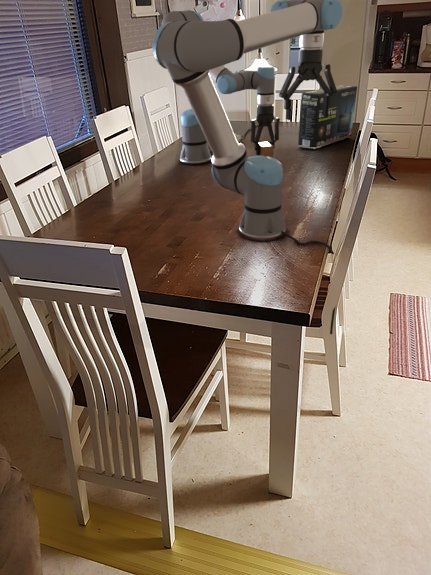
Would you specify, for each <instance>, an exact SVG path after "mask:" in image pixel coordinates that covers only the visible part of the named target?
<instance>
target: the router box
mask: <svg viewBox="0 0 431 575" xmlns="http://www.w3.org/2000/svg"><path fill="white" fill-rule="evenodd" d="M335 86H336V89H337V93H336V94H333V96H331V104H330V106H328V115H327V117H325V116H322V108H323V96H324V95H326V94H325V92H324V91H323V89H322V88H318V89H314V90H309V91H304V92H301V93H300V109H299V110H300V111H299V124H298V137H297V146H298V145H302V146H307V147H317V146H320V145H323V144H325V143H328V142H331V141H333V140H336V139H338V138H341V137H344V136H347V135H351V136H352V133H353V132H352V131H353V125H354V115H355V109H356V99H357V93H358V86H356V85H350V84H339V85H338V84H337V85H335ZM328 88H329V86H328ZM329 89H330V88H329ZM311 151H313V150H312V149H311Z"/></svg>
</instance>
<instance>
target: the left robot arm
mask: <svg viewBox="0 0 431 575" xmlns="http://www.w3.org/2000/svg"><path fill="white" fill-rule="evenodd" d="M174 20H179V21H205V20H204V18H203V16H202V15H201V14H200V13H199V12H198V11H195V10H190V9H188V10H172V11H169V12H167V13H166V14H165V15H164V17H163V18H162V20H161V25H163V24H165V23H167V22H171V21H174ZM209 74H210V77H211V79H212V81H213V82H215V83H216V89H217V91H218V92H219V93H220V94H221V95H232V94H234V93H237V92H241V91H245V90H256V104H257V105H256V117H255V118H254V119H250V125H251V126H250V128H251V130H250V142H251V143H252V144H254V151H255V156H260V144H259V142H260V139H261V135H262V132H263V129H264V128H265V127H267V130H268V134H269V138H270V141H269V143H270V144H272V145H273V146H274V148H273V150H275V149H276V148H275V146H276V142H277V141H279V139H280V121H281V118H279V117H278V116H275V115H274V113H275V105H274V104H275V84H276V83H275V81H276V69H275V67H274V66H273V65H260V66H258V67H257V70H246V69H240V70H236V71H234V72H232V71H231V70H230V69H229V68H228V67H227V66H226V65H222V66H219V67H217V68H214V69H211V70H209ZM225 113H226V115H227V112H226V111H225ZM227 116H228V115H227ZM273 122H274V124H272V123H273ZM256 124H259V125H258V126H256ZM273 125H274V129H273ZM256 127H257V131H256ZM180 128H181V140H182V147H181V151H180V156H179V162H180V163H181V164H183V165H189V166H197V165H205V164H208V163H210V162H212V161H211V159H212V155H211V153H212V154H213V152H212V150H210V149H209V145H208V142H207V140H206V138H205V135H204V133H203V131H202V129H201V127H200V125H199V123H198V120H197V118H196V116H195V114H194V112H193V110H192V108H189V109H185V110H184V111H182V112H181V114H180Z"/></svg>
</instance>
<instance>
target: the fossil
mask: <svg viewBox="0 0 431 575" xmlns="http://www.w3.org/2000/svg"><path fill="white" fill-rule="evenodd" d="M232 130H233V132H234V134H235V137H236V139H237V142H240V143H241V141H243V140H242V138H245V139H246V136H245V135H244V134H243V133H244V132H241V131H235V130H234V129H232Z"/></svg>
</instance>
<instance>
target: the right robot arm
mask: <svg viewBox="0 0 431 575" xmlns="http://www.w3.org/2000/svg"><path fill="white" fill-rule="evenodd" d="M342 18H343V5H342V3H341V1H340V0H277V1H274V3H273V4H272V5H271V7H270V9H269V12H266V13H263V14H259V15H255V16H252V17H249V18H244V19H241V20H235V18H227V19H223V20H204V21H179V20H174V21H171V22H167V23H165V24H163V25H162V24H161V25H160V26H159V27H158V29H156V32H155V33H154V36H153V40H152V48H151V49H152V54H153V57H154V59H155V61H156V63H158V65H159V66H160V67H161V68H163V69H166V70H167V72H168V74H169V75H170V78H171V80H172V82H173V84H174V85H176V86H180V87H181V88H182V90H183V92H184V95H185V96H186V99H187V101H188V103H189V105H190V107H191V108H190V109H192V110H193V112H194V114H195V116H196V118H197V120H198V123H199V125H200V127H201V129H202V131H203V133H204V135H205V138H206V140H207V145H208V147H209V148H210V151H212V152H213V153H212V155H211V161H210V162H211V166H212V167H211V176H212V178H213V180H214V181H215V183H217V184H218V185H219V186H221V187H222V188H223V189H226V190H229V191H232V192H234V193H236V194H238V195H241V196H244V211H243V213H242V216H241V220H240V222H239V225H238V232H239V235H240V236H241V237H242V238H244V239H247V240H250V241H254V242H271V241H277V240H279V239H281V238H283V237H287V238H289V239H290V240H293V241H294V242H295V243H296V244H297V245H298V246H299V245H300V246H306V245H309V244H320V245H324V246H325V247H326V249H328V251H329V252H330V254H331V255H335V252H334V251H333V249H332V248H331V246H330V245H329V244H328V243H326V242H324V241H320V240H312V239H311V240H309V241H308V240H307V241H305V242H301V241H299V240H298V239H296V238H295V237H294V236H292V235H290V234H288V233H287V223H286V221H285V216H284V214H283V210H282V200H283V183H284V172H283V171H284V169H283V164H282V163H281V162H280V161H279V160H278V159H276V158H274V157H273V158H272V157H268V156H267V157H264V156H256V155H252V156H249V153H248V151H247V148H246V145H244V143H242V142H240V143H239V142H237V139H236V137H235V134H234V132H233V130H234V129H233V127H232V125H231V123H230V120H229V117H228V115H226V114H227V112H226V110H225V108H224V105H223V103H222V101H221V99H220V96H219V94H218V90H217V88H216V86H215V83H214V80H213V79H212V78H211V77H210V74H209V70H211V69H214V68H217V67H219V66H222V65H224V66H226V65H228V64H230V63H233V62H237V61H239V60H241V58H242V57H243V56H244V54H248V53H251V52H253V51H257V50H260V49H263V48H266V47H269V46H273V45H275V44H278V43H282V42H285V41H288V40H291V39H295V38H297V37H299V44H298V45H299V48H300V49H299V51H298V66H292V65H290V66H289V67H288V73H287V76H286V78H285V80H284V82H283V84H282V86H281V89H280V91H279V94H278V97H279V98H281V99H283V108H284V110H285V119H286V120H287V121H292V106H293V99H292V96H293V95H294V93H295V92H296V91H297V90H298V88H299V87H300V85H301V84H302V83H303V82H304V81H306V82H308V81H316V83H317V84H318V85H319V87H320V89H323V91H324V92H325V94H326V95H324V96H323V108H322V116H325V117H327V115H328V106H330V104H331V96H333V94H336V93H337V89H336V86H337V85H336V83H335V81H334V77H333V75H332V71H331V68H332V66H331V64H330V63H324V64H322V62H323V54H324V53H323V52H324V50H323V49H322V48H323V47H324V41H325V40H324V39H325V31H328V30H333V29H336V28H337V27H338V26H339V25H340V23H341V21H342ZM321 72H323V73H324V76H325V79H326V82H327V83H326V82H325V80H324V79H323V76H322V75H321ZM297 73H298V75H297V76H296V78H295V80H294V81H293V79H294V77H295V75H296V74H297ZM328 87H329V88H330V89H329V88H328ZM225 112H226V113H225ZM331 312H332V313H331V321H330V328H329V334H330V335H333V330H334V321H335V314H336V305H335V306H334V308H333V309H332V311H331Z"/></svg>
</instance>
